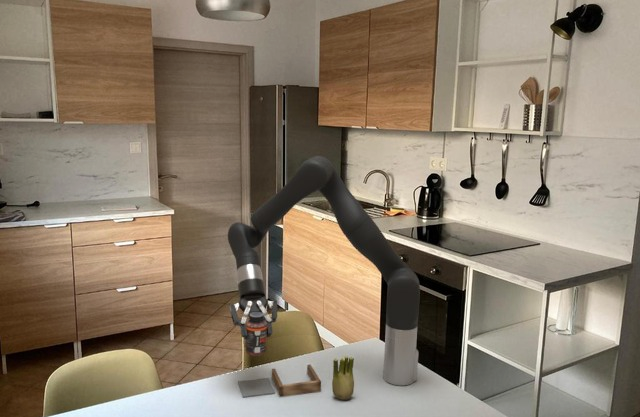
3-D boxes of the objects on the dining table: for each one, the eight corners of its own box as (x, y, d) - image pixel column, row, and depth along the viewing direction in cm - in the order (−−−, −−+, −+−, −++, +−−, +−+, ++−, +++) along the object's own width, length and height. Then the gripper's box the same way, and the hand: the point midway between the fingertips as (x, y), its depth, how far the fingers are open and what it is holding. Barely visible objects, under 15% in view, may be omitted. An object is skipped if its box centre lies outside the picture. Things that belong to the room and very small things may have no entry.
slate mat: (268, 378, 158) (268, 377, 158) (274, 393, 150) (274, 392, 150) (238, 382, 156) (238, 381, 156) (242, 397, 147) (242, 396, 147)
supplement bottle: (262, 357, 148) (263, 319, 146) (242, 355, 149) (242, 317, 147) (269, 348, 154) (269, 311, 151) (249, 346, 155) (249, 309, 153)
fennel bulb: (330, 400, 148) (332, 359, 146) (334, 391, 152) (335, 352, 150) (351, 403, 146) (353, 362, 144) (354, 394, 151) (356, 354, 149)
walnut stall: (310, 373, 162) (310, 364, 162) (320, 391, 152) (321, 381, 152) (271, 378, 159) (271, 368, 158) (279, 396, 148) (280, 386, 148)
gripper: (227, 278, 153) (233, 334, 144) (276, 275, 157) (285, 329, 148) (224, 290, 158) (230, 344, 149) (272, 287, 163) (280, 339, 154)
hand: (257, 336), depth 149 cm, fingers closed on supplement bottle, 6 cm apart
